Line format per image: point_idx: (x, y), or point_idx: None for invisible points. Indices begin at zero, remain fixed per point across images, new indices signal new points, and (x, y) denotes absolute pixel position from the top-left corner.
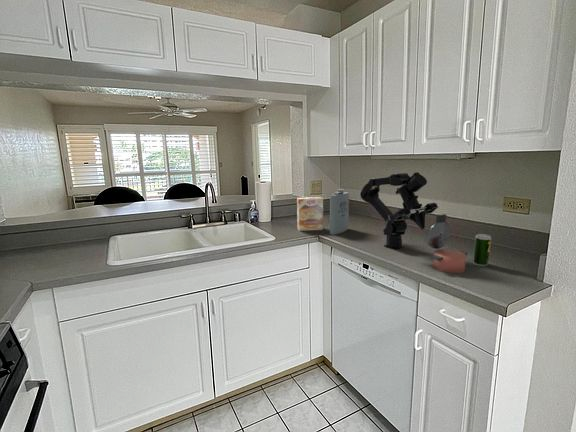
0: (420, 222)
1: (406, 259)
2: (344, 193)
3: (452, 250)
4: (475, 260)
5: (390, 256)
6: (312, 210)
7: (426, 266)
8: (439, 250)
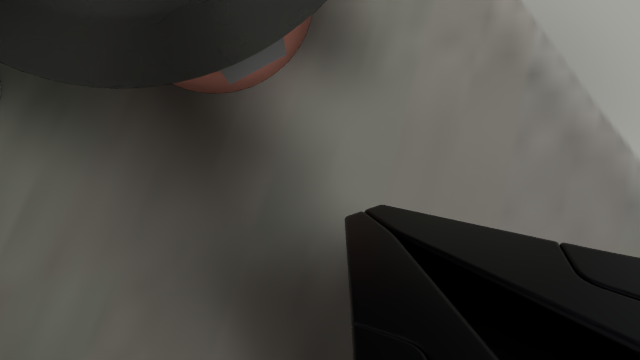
0: (494, 238)
1: (461, 165)
2: None
3: None
4: None
5: (571, 231)
6: None
7: (356, 22)
8: None
